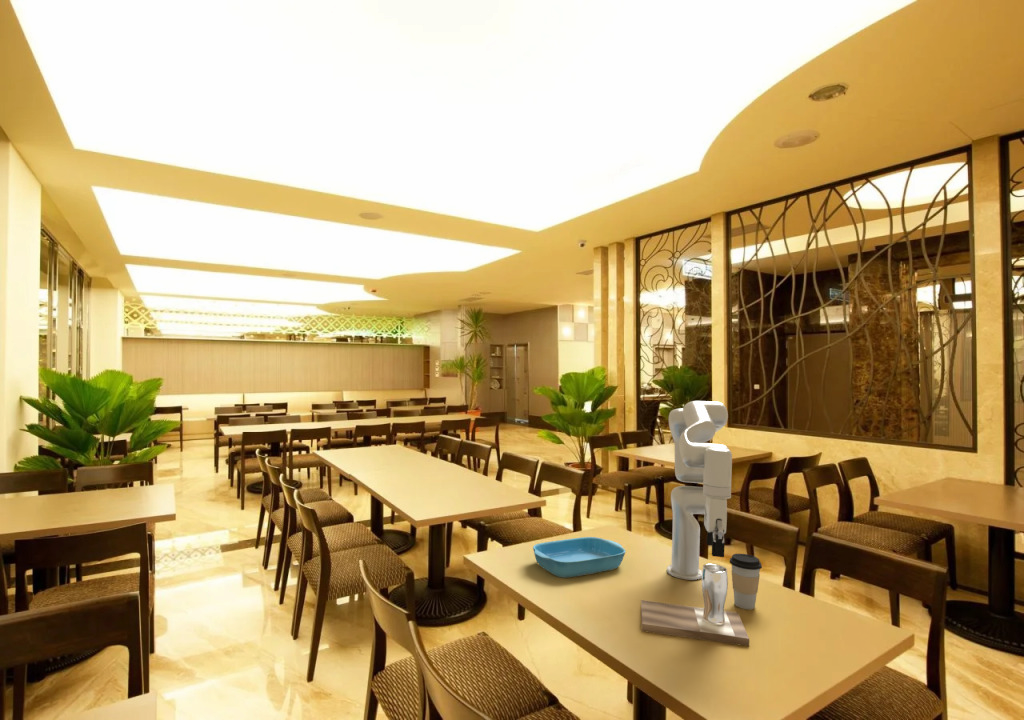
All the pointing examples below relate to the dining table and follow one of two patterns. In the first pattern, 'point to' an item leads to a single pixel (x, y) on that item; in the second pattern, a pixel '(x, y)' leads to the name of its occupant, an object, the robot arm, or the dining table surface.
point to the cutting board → (691, 623)
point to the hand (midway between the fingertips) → (715, 550)
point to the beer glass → (714, 593)
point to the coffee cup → (745, 579)
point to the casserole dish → (578, 556)
